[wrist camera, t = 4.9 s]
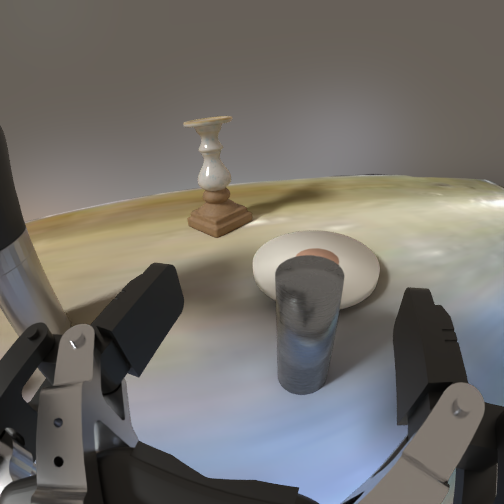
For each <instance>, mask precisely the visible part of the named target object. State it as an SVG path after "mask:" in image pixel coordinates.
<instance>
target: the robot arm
mask: <svg viewBox="0 0 504 504" xmlns="http://www.w3.org/2000/svg"><path fill="white" fill-rule="evenodd" d="M183 306H184V297H183V294H182V290H181V286H180V283H179V279H178V275H177V272H176V269H175V267H174V266H173V265H170V264H162V263H153V264H151V265H150V266H149V267H148V268H147V269H146V270H145V271H144V273H143V274H141V275H139V276H138V277H136V278H135V279H133V280H131V281H130V282H129V283H128V284H127V285H126V286H125V287H124V288H123V289H122V292H120V293H119V294H118V295H117V296H116V297H115V299H113V300H112V301H111V302H110V303H109V305H108V306H107V307H106V308H105V309H104V310H103V311H102V312H101V313H100V315H99V316H98V317H97V318H96V319H95V320H94V321H93V322H92V324H91V325H88V324H78V325H75V326H73V327H71V324H70V321H69V319H68V317H67V315H66V313H65V312H64V310H63V308H62V306H61V304H60V302H59V300H58V298H57V296H56V295H55V293H54V291H53V289H52V287H51V285H50V282H49V280H48V278H47V276H46V274H45V272H44V270H43V267H42V265H41V263H40V261H39V258H38V256H37V254H36V251H35V249H34V246H33V244H32V242H31V239H30V236H29V234H28V231H27V228H26V225H25V223H24V220H23V216H22V213H21V209H20V205H19V201H18V197H17V194H16V190H15V186H14V182H13V177H12V172H11V166H10V160H9V154H8V148H7V143H6V139H5V135H4V133H3V130H2V128H1V126H0V308H1V309H2V311H3V313H4V314H5V316H6V318H7V319H8V321H9V322H10V324H11V326H12V327H13V329H14V330H15V332H16V333H17V335H18V336H19V338H18V339H17V340H16V342H15V343H14V344H13V345H12V346H11V348H10V349H9V350H8V351H7V353H6V354H5V355H4V356H3V358H2V359H1V360H0V504H319V503H317V502H316V501H314V500H312V499H310V498H308V497H306V496H304V495H301V494H298V490H299V487H291V486H285V485H278V484H273V483H267V482H262V481H257V480H229V479H212V478H207V477H205V476H203V475H201V474H200V473H198V472H197V471H195V470H193V469H192V468H190V467H189V466H187V465H186V464H184V463H183V462H181V461H180V460H178V459H177V458H175V457H174V456H173V455H171V454H168V453H166V452H163V451H161V450H158V449H156V448H154V447H151V446H149V445H147V444H145V443H142V442H140V441H139V440H138V437H137V435H136V433H135V432H134V430H133V427H132V424H131V417H130V410H129V402H128V393H127V384H126V380H125V379H124V377H125V376H126V374H127V373H129V374H131V375H134V376H136V377H140V375H141V374H142V372H143V370H144V369H145V367H146V366H147V364H148V363H149V361H150V360H151V358H152V357H153V355H154V353H155V352H156V350H157V349H158V347H159V346H160V344H161V343H162V341H163V340H164V338H165V337H166V335H167V334H168V332H169V331H170V329H171V328H172V326H173V325H174V323H175V322H176V320H177V319H178V317H179V316H180V314H181V312H182V310H183ZM393 345H394V356H395V370H396V390H397V425H408V434H407V435H406V436H405V438H404V439H403V440H402V442H401V443H400V444H399V445H398V446H397V448H396V449H395V450H394V451H393V452H392V454H391V455H390V456H389V457H388V458H387V459H386V460H385V462H384V463H383V464H382V465H381V466H380V467H379V468H378V469H377V470H376V471H375V472H374V473H373V475H372V476H371V477H370V478H369V479H368V480H367V481H365V482H364V483H363V484H362V485H361V486H360V487H359V488H358V489H356V490H355V491H354V492H353V493H352V494H351V495H350V496H349V497H347V498H346V499H345V500H344V501H343V502H342V503H341V504H441V502H442V501H443V499H444V498H445V496H446V495H447V493H448V490H449V484H448V479H449V477H450V476H451V474H452V473H453V471H454V469H455V468H456V481H455V492H454V501H453V504H504V407H502V406H498V405H493V404H489V403H486V402H484V400H483V397H482V395H481V393H480V392H479V391H478V390H477V389H476V388H475V387H474V386H472V385H470V384H468V380H467V376H466V371H465V367H464V363H463V359H462V355H461V351H460V347H459V344H458V342H457V337H456V333H455V332H454V327H453V324H452V320H451V317H450V316H449V314H448V313H447V312H446V311H445V309H444V308H443V307H442V306H441V305H435V304H434V301H433V298H432V295H431V292H430V290H429V289H425V288H409V287H408V288H406V290H405V293H404V296H403V299H402V303H401V306H400V309H399V312H398V315H397V318H396V321H395V325H394V330H393ZM37 367H38V369H39V370H40V371H41V372H42V374H43V375H44V376H45V377H46V379H45V381H44V382H43V384H42V385H41V386H40V388H39V389H38V391H37V392H36V394H35V395H34V397H33V398H32V400H31V401H30V402H28V403H27V402H26V401H25V400H24V399H23V397H22V388H23V386H24V385H25V384H26V382H27V381H28V379H29V378H30V377H31V375H32V374H33V373H34V371H35V370H36V368H37ZM35 460H36V464H35V463H34V462H35ZM497 463H498V473H497ZM30 475H31V476H30ZM496 480H497V494H496ZM495 497H496V498H495Z"/></svg>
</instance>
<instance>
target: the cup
mask: <svg viewBox="0 0 504 504" xmlns="http://www.w3.org/2000/svg"><path fill="white" fill-rule="evenodd" d="M343 284H344V272H343V270H342V268H341V267H340V266H339V265H338V264H337V263H335V262H334V261H332V260H330V259H327V258H324V257H320V256H314V255H303V256H297V257H293V258H290V259H288V260H286V261H284V262H282V263H281V264H280V265H279V266H278V267H277V269H276V272H275V287H276V320H277V366H278V380H279V383H280V384H281V386H282V387H283V388H284V389H285V390H287V391H288V392H290V393H293V394H298V395H306V394H310V393H313V392H315V391H317V390H318V389H320V388H321V387H322V386H323V384H324V383H325V380H326V376H327V372H328V367H329V363H330V358H331V353H332V348H333V343H334V338H335V333H336V328H337V322H338V316H339V310H340V304H341V298H342V291H343Z"/></svg>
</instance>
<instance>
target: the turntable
mask: <svg viewBox="0 0 504 504" xmlns="http://www.w3.org/2000/svg"><path fill="white" fill-rule="evenodd" d="M303 255H314V256H320V257H324V258H327V259H330V260H332V261H334V262H335V263H337V264H338V265H339V266H340V267H341V268H342V270H343V272H344V284H343V291H342V298H341V304H340V309H344V308H347V307H350V306H353V305H355V304H357V303H360V302H361V301H363V300H364V299H366V298H367V297H368V296H369V295H370V294H371V293H372V292H373V290H374V289H375V287H376V285H377V282H378V277H379V273H380V266H379V262H378V259H377V257H376V256H375V254H374V253H373V252H372V251H371V250H370V249H369V248H368V247H367V246H366V245H364V244H363V243H361V242H359V241H357V240H355V239H353V238H351V237H348V236H345V235H342V234H338V233H333V232H327V231H298V232H292V233H288V234H284V235H281V236H278V237H276V238H273V239H271V240H270V241H268V242H266V243H265V244H264V245H262V246H261V247H260V248H259V249H258V251H257V252H256V253H255V256H254V258H253V275H254V279H255V282H256V284H257V285H258V287H259V288H260V289H261V290H262V291H263V292H264V293H265V294H266V295H267V296H269V297H270V298H271V299H273V300H275V301H276V287H275V272H276V269H277V267H278V266H279V265H280V264H281V263H282V262H284V261H286V260H288V259H290V258H293V257H297V256H303Z"/></svg>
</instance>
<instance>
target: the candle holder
mask: <svg viewBox="0 0 504 504" xmlns="http://www.w3.org/2000/svg"><path fill="white" fill-rule="evenodd" d="M230 121H232V117H231V116H220V117H210V118H203V119H197V120H191V121H187V122H184V123H183V126H184V127H194V128H195V130H196V132H197V133H198V134H199V135H200V137H201V140H202V141H201V146H200V148H199V149H198V150H199V152H201V154H202V155H203V157H204V164H203V167H202V169H201V171H200V173H199V176H198V184H199V186H200V187H201V188H202V189H204V190H205V192H204V193H203V199H204V200H205V201H206V203H204V204H203V205H202V207H200V208H198V209H196V210H194V211H192V212H191V216H190V217H189V218H188V225H189V226H190V227H192V228H195V229H197V230H199V231H201V232H204V233H206V234H208V235H210V236H213V237H216V238H218V237H220V236H223V235H225V234H227V233H229V232H231V231H233V230H234V229H236V228H238V227H240V226H242V225H244V224H246V223H248V222H250V221H252V213H251V212H248V211H247V208H246V207H245V206H242V205H239V204H236V203H234V202H233V201H231V200H229V199H228V198H229V197H230V191H229V190H228V189H227V188H226V187H227V186H228V185H229V183H230V182H231V175H230V172H229V171H228V170H227V168H226V167H225V166H224V165H223V163H222V162H221V160H220V152H221V149H222V148H223V146H222V145H221V143H220V142H219V140H218V133H219V131H220V130H221V125H222V123H227V122H230Z"/></svg>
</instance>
